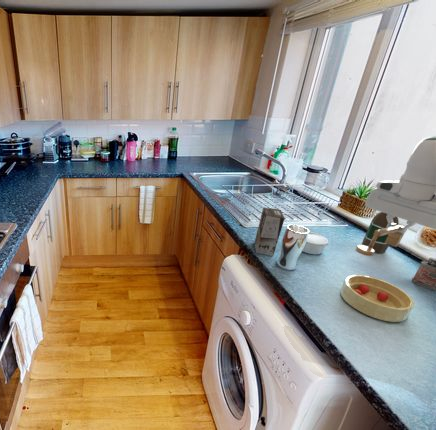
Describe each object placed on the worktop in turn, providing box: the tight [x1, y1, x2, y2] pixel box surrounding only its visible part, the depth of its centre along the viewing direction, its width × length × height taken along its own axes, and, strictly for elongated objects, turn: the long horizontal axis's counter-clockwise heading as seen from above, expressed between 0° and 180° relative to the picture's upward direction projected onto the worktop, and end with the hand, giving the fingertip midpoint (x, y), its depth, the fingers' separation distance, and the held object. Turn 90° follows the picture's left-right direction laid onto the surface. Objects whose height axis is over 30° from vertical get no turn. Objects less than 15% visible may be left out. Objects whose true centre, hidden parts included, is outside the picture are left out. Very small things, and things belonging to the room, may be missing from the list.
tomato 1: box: [358, 285, 369, 294], centre depth 89 cm, size 3×3×3 cm
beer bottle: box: [361, 211, 400, 254], centre depth 111 cm, size 8×8×24 cm
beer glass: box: [276, 224, 310, 271], centre depth 101 cm, size 7×7×15 cm
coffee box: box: [254, 207, 286, 257], centre depth 110 cm, size 9×6×16 cm
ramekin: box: [302, 231, 330, 255], centre depth 114 cm, size 11×11×5 cm
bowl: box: [340, 274, 415, 323], centre depth 85 cm, size 15×15×5 cm
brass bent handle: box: [355, 224, 406, 257], centre depth 91 cm, size 19×4×7 cm, turn 114°
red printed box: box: [410, 257, 436, 291], centre depth 93 cm, size 8×3×10 cm, turn 47°
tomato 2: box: [377, 292, 389, 301], centre depth 86 cm, size 3×3×3 cm
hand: (395, 230), depth 93 cm, fingers closed on brass bent handle, 2 cm apart
